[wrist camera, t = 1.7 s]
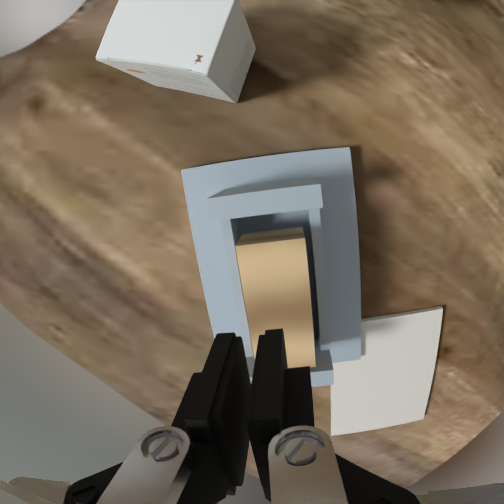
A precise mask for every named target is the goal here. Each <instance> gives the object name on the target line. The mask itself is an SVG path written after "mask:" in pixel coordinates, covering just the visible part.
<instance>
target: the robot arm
mask: <svg viewBox="0 0 504 504" xmlns="http://www.w3.org/2000/svg"><path fill="white" fill-rule="evenodd" d="M249 440H250V442H251V446H252V450H253V454H254V458H255V462H256V466H257V469H258V473H259V477H260V481H261V484H262V486H263V490H264V494H265V497H266V499H267V500H269V501H270V502H271V504H504V483H494V484H489V485H483V486H475V487H468V488H459V489H450V490H437V491H428V493H427V494H425V495H414V494H412V493H411V492H410V491H408V490H406V489H404V488H402V487H400V486H398V485H396V484H393V483H391V482H389V481H387V480H385V479H383V478H381V477H379V476H377V475H375V474H373V473H371V472H369V471H367V470H365V469H363V468H361V467H359V466H357V465H355V464H353V463H351V462H350V461H348V460H346V459H344V458H342V457H340V456H339V455H337V454H335V452H334V449H333V445H332V441H331V440H330V438H329V436H328V435H327V434H326V433H325V432H324V431H323V430H321V429H318V428H316V427H314V412H313V399H312V386H311V374H310V366H305V367H295V368H288V365H287V356H286V348H285V340H284V332H283V328H281V329H270V330H265V334H264V335H259V338H258V344H257V351H256V357H255V363H254V369H253V376H252V382H251V381H250V376H249V371H248V366H247V361H246V356H245V350H244V345H243V340H242V337H241V336H237V337H236V334H235V333H234V332H231V333H217V335H216V337H215V339H214V342H213V345H212V347H211V350H210V352H209V355H208V358H207V360H206V363H205V365H204V368H203V371H202V372H199V373H194V374H193V375H192V377H191V380H190V382H189V384H188V387H187V389H186V392H185V394H184V396H183V399H182V401H181V404H180V406H179V408H178V411H177V413H176V416H175V418H174V420H173V423H172V425H171V426H163V427H157V428H154V429H152V430H149V431H148V432H146V433H145V434H143V435H142V436H141V437H140V438H139V440H138V441H137V442H136V444H135V445H134V447H133V449H132V450H131V452H130V453H129V455H128V456H127V458H126V459H125V461H124V462H122V463H120V464H118V465H115V466H113V467H111V468H108V469H106V470H104V471H101V472H99V473H96V474H94V475H92V476H89V477H86V478H84V479H81V480H79V481H77V482H75V483H74V484H73V485H71V484H70V483H69V482H63V481H52V480H42V479H34V478H27V477H17V478H15V479H12V480H11V481H10V482H9V483H7V482H5V481H3V480H0V504H218V502H219V501H221V500H222V499H224V498H225V497H226V495H235V491H236V486H242V484H243V480H244V473H245V467H246V460H247V454H248V447H249Z"/></svg>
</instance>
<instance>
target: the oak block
mask: <svg viewBox="0 0 504 504" xmlns="http://www.w3.org/2000/svg"><path fill="white" fill-rule="evenodd" d="M235 248H236V254H237V260H238V266H239V272H240V278H241V284H242V290H243V296H244V301H245V307H246V313H247V319H248V325H249V330H250V336H251V342H252V347H253V353H254V359H255V357H256V351H257V344H258V338H259V335H264V334H265V330H270V329H281V328H283V332H284V340H285V348H286V356H287V365H288V368H295V367H305V366H310V367H316V362H315V346H314V332H313V319H312V306H311V294H310V283H309V272H308V262H307V252H306V243H305V236H304V232H303V228H302V227H294V228H286V229H277V230H269V231H260V232H252V233H244V234H242V235H241V237H240V238H239V240H238V242H237V244H236V246H235Z"/></svg>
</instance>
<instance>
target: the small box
mask: <svg viewBox="0 0 504 504" xmlns="http://www.w3.org/2000/svg"><path fill="white" fill-rule="evenodd" d="M255 50H256V47H255V44H254V41H253V38H252V35H251V32H250V29H249V27H248V24H247V21H246V18H245V16H244V13H243V10H242V7H241V5H240V2H239V0H119V2H118V4H117V6H116V8H115V10H114V13H113V15H112V17H111V20H110V22H109V24H108V27H107V29H106V32H105V34H104V37H103V39H102V42H101V44H100V47H99V50H98V52H97V55H96V60H98V61H100V62H102V63H105V64H107V65H110V66H112V67H114V68H117V69H119V70H121V71H124V72H126V73H128V74H131V75H133V76H135V77H138V78H140V79H142V80H144V81H146V82H148V83H151V84H153V85H155V86H159V87H165V88H170V89H175V90H180V91H185V92H190V93H195V94H199V95H204V96H208V97H213V98H217V99H221V100H225V101H229V102H232V103H237V102H238V99H239V96H240V93H241V90H242V87H243V84H244V81H245V78H246V76H247V73H248V70H249V67H250V64H251V61H252V58H253V56H254V53H255Z"/></svg>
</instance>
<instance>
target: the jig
mask: <svg viewBox="0 0 504 504" xmlns="http://www.w3.org/2000/svg"><path fill="white" fill-rule="evenodd" d="M181 173H182V179H183V185H184V191H185V197H186V203H187V208H188V214H189V219H190V225H191V230H192V235H193V241H194V246H195V251H196V256H197V261H198V266H199V271H200V276H201V281H202V285H203V290H204V295H205V299H206V304H207V309H208V313H209V318H210V322H211V326H212V331H213V335H214V339H215V337H216V335H217V333H231V332H234V333H235V334H236V337H237V336H241V337H242V340H243V345H244V350H245V356H246V361H247V366H248V371H249V376H250V381H251V382H252V376H253V369H254V363H255V359H254V353H253V347H252V342H251V336H250V330H249V325H248V319H247V313H246V307H245V301H244V296H243V290H242V284H241V278H240V272H239V266H238V260H237V254H236V248H235V246H236V244H237V242H238V240H239V238H240V237H241V235H242V234H244V233H252V232H260V231H269V230H277V229H286V228H294V227H302V228H303V232H304V236H305V243H306V252H307V262H308V272H309V283H310V294H311V306H312V319H313V332H314V346H315V362H316V367H310V374H311V386H312V387H316V386H325V385H333V384H334V370H333V364H332V363H338V362H345V361H353V360H360V359H361V281H360V256H359V238H358V224H357V211H356V199H355V189H354V179H353V170H352V162H351V154H350V147H343V148H332V149H322V150H312V151H303V152H294V153H286V154H278V155H270V156H263V157H255V158H249V159H242V160H235V161H229V162H223V163H217V164H211V165H205V166H200V167H194V168H189V169H184V170H181Z"/></svg>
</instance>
